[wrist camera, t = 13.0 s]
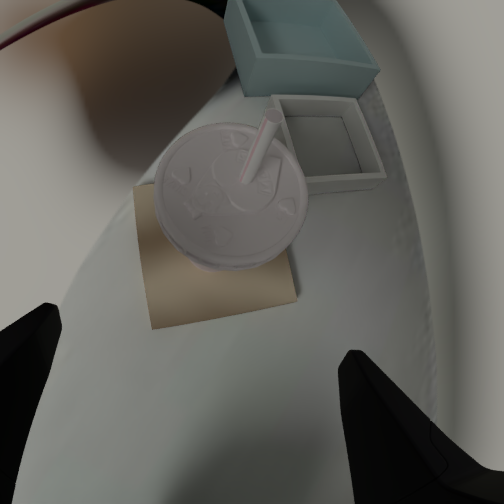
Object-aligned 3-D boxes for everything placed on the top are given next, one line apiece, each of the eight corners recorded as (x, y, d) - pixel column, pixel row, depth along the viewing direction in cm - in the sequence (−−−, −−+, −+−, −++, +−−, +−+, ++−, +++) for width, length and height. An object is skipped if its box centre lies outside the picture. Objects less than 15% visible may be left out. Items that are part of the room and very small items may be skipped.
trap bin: (357, 99, 29) (380, 70, 24) (244, 96, 26) (256, 58, 21) (320, 28, 31) (335, -1, 26) (223, 21, 28) (230, -13, 23)
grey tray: (372, 189, 26) (387, 177, 24) (287, 197, 24) (298, 183, 22) (344, 112, 28) (355, 98, 26) (264, 112, 26) (271, 94, 24)
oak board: (293, 302, 23) (297, 301, 22) (153, 329, 20) (152, 329, 20) (264, 174, 25) (266, 169, 24) (134, 191, 22) (132, 186, 21)
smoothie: (276, 259, 22) (398, 169, 9) (198, 311, 20) (224, 287, 7) (225, 185, 23) (278, 32, 9) (147, 230, 21) (104, 93, 8)
